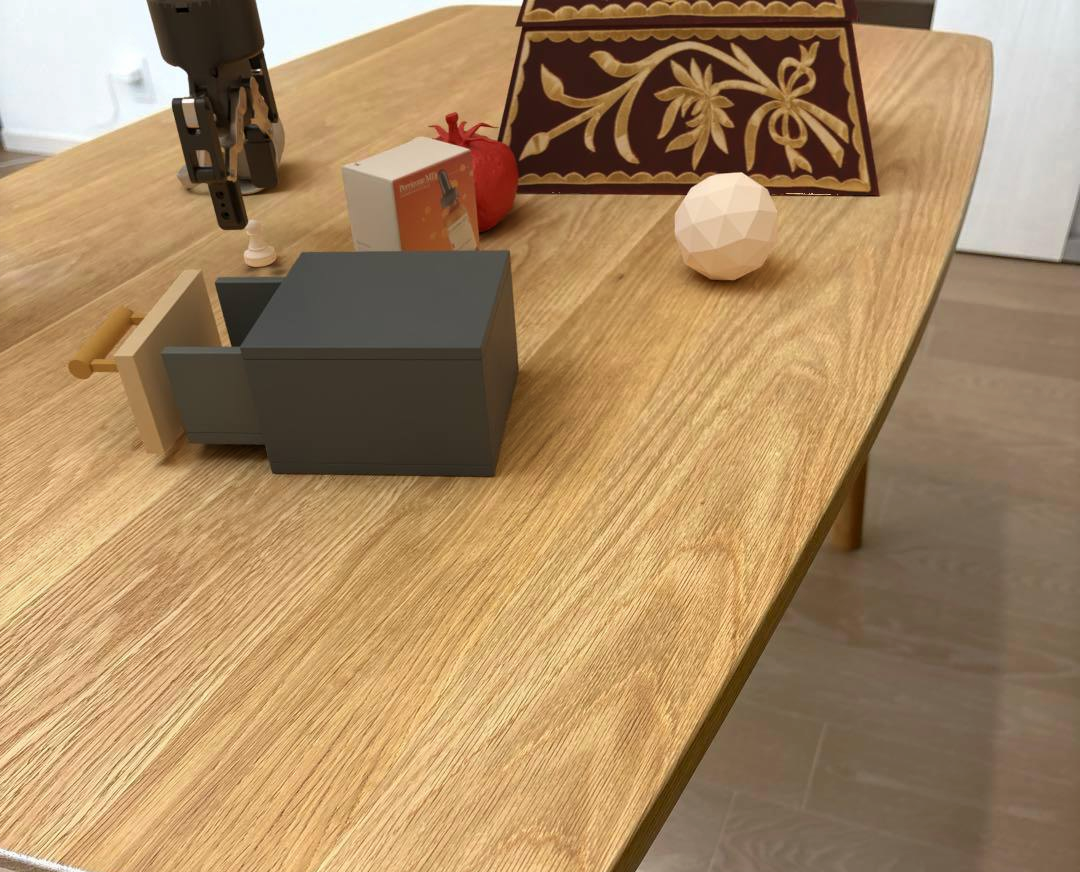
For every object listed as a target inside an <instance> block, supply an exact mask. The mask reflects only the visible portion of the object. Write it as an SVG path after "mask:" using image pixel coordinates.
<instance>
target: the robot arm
mask: <svg viewBox="0 0 1080 872" xmlns="http://www.w3.org/2000/svg"><path fill="white" fill-rule="evenodd" d="M145 1H146V5H147V8H148V11H149V15H150V19H151V22H152V26H153V29H154V30H153V31H154V34H155V37H156V41H157V45H158V48H159V52H160V55H161V56H160V57H161V58H162V60H163V61H164V62H165V63H166V64H168V65H169V66H172V67H174V68H175V67H177V68H180V69H181V70H183V71H184V72H185V73H186V76H187V83H188V84H187V85H188V93H189V94H188V96H183V97H173V98H172V99H171V111H172V114H173V119H174V122H175V126H176V130H177V135H178V138H179V141H180V146H181V151H182V155H183V158H184V162H185V164H186V167H187V171H188V175H189V179H190V181H191V183H192V184H199V185H201V184H206V185H207V187H208V191H209V194H210V198H211V203H212V206H213V210H214V214H215V218H216V221H217V225H218V227H219V228H220V229H221V230H223V231H242V230H244V229H245V227H246V226H247V224H248V221H249V218H248V214H247V210H246V205H245V201H244V196H243V195H242V193H241V188H240V184H239V180H238V179H237V154H238V153H239V152H240V151H241V150H242V149H243V146H244V150H245V154H246V158H247V162H248V167H249V171H250V175H251V179H252V183H253V185H254V186H255V187H257V188H264V189H274V188H276V187H277V186H278V185H279V184H280V182H281V176H280V172H279V169H278V167H277V163H276V158H275V154H274V149H273V145H272V140H270V139H272V138H273V136H274V129H273V126H272V123H278V118H280V115H279V112H278V107H277V103H276V99H275V94H274V91H273V87H272V83H271V78H270V74H269V70H268V69H269V68H268V65H267V60H266V57H265V52H264V47H265V43H266V42H265V37H264V32H263V28H262V23H261V19H260V13H259V8H258V4H257V0H145ZM246 139H248V141H245V142H244V143H243V140H246ZM198 150H199V162H198V158H197V154H196V151H198ZM222 152H224V159H223V155H222ZM200 183H201V184H200Z"/></svg>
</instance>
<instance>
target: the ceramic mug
mask: <svg viewBox="0 0 1080 872" xmlns="http://www.w3.org/2000/svg"><path fill="white" fill-rule="evenodd" d="M272 126H273V129H274V136H273V138H272V139H270V140H272V145H273V149H274V154H275V158H276V163H277V167H278V170H279V168H280V167H281V166H280V165H281V161H282V157H283V154H284V150H285V145H286V134H285V133H286V132H285V129H284V126H283V122H282V119H281V118H280V117H279V118H278V123H272ZM245 141H248V139H246V140H243V143H244V142H245ZM196 154H197V158H198V162H199V150H198V151H196ZM222 155H223V159H224V152H222ZM176 178H177V179H178V180H179V182H180V183H181V185H182V186H183V187H184V188H185V189H192V188H196V187H198V186H199V185H201V184H202V183H200V184H192V183H191V181H190V179H189V175H188V171H187V167H186V163H185V164H184V165H182V167H181V168H180V169H179V170H178V171H177V172H176ZM237 179H238V180H239V184H240V188H241V193H242V196H243V195H252V194H255V193H256V194H257V193H258V192H261V191H262V190H264V189H265V188H257V187H255V186H254V185H253V183H252V179H251V175H250V171H249V167H248V162H247V158H246V154H245V150H244V146H243V149H242V150H241V151H240V152H239V153H238V154H237Z"/></svg>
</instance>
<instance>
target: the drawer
mask: <svg viewBox="0 0 1080 872" xmlns="http://www.w3.org/2000/svg"><path fill="white" fill-rule="evenodd" d="M285 277H286V276H219V277H217V278H216V280H215V281H214V286H215V290H216V294H217V298H218V301H219V305H220V309H221V312H222V313H221V314H222V317H223V321H224V325H225V328H226V331H227V335H228V339H229V343H230V344H229V345H230V346H223V344H222V341H221V337H220V333H219V329H218V325H217V322H216V319H215V314H214V310H213V306H212V304H211V303H212V302H211V299H210V296H209V293H208V289H207V285H206V281H205V277H204V273H203V270H202V269H184V270H183V271H182V272H181V273H180V274H179V276H178V277H177V278H176V279H175V281H174V282H172V284H171V285H170V286H169V288H167V290H166V291H165V293H163V295H162V296H161V297H160V298H159V300H158V301H157V302H156V303H155V304H154V306H153V307H152V308H151V309H150V311H149V312H147V313H145V312H144V313H141V312H140V313H138V312H137V313H135V312H134V311H133V310H132V309H131V308H130V307H127V306H124V305H123V306H122V305H121V306H118V307H116V308H115V309H114V311H113V312H112V313H111V314H110V315H109V316H108V317H107V318H106V320H105V321H103V323H102V324H101V325H100V326H99V328H98V329H97V330H96V331H95V332H94V333H93V334H92V336H91V337H90V338H89V339H88V340H87V341H86V343H84V345H83V346H82V347H81V348H80V349H79V350H78V351H77V352H76V354H75V355H73V357H72V358H71V359H70V360H69V361H68V363H67V369H68V371H69V373H70V374H71V376H73V377H75V378H76V379H79V380H88V379H90V377H91V376H92V375H93V373H118V374H119V377H120V380H121V383H122V386H123V389H124V391H125V394H126V397H127V400H128V403H129V406H130V408H131V409H130V410H131V412H132V415H133V417H134V421H135V424H136V426H137V429H138V432H139V435H140V438H141V440H142V444H143V447H144V450H145V452H146V454H147V455H166V453H167V452H168V450H169V449H170V447H171V445H173V443H174V441H175V440H176V438H177V437H178V435H179V434H180V432H181V431H182V429H184V432H185V436H186V439H187V443H188V444H189V445H191V444H192V445H194V444H195V445H199V444H200V445H203V444H204V445H264V446H265V444H264V440H263V436H262V432H261V428H260V425H259V421H258V417H257V413H256V409H255V405H254V401H253V397H252V394H251V390H250V386H249V382H248V378H247V374H246V370H245V367H244V363H243V358H242V354H241V350H240V346H241V344H242V343H243V341H244V340H245V338H246V337H247V335H248V334H249V332H250V331H251V329H252V328H253V326H254V324H255V323H256V321H257V320H258V318H259V317H260V315H261V314H262V312H263V311H264V309H265V308H266V306H267V305H268V303H269V301H270V300H271V298H272V297H273V295H274V294H275V292H276V291H277V289H278V288H279V286H280V285H281V283H282V281H283V280H284V278H285ZM133 326H136V327H135V329H134V330H133V331H132V332H131V333H130V335H129V336H128V337H127V338H126V339H125V341H124V342H123V343H122V344H121V346H120V347H119V348H118V349H117V350H116V352H115V353H114V354H113V356H112V357H113V358H107V357H108V356H109V355H110V353H111V352H112V351H113V349H114V348H116V346H117V345H118V344H119V342H120V341H121V340H122V339H123V337H124V336H125V335H126V334H127V333H128V332H129V330H131V328H132V327H133Z"/></svg>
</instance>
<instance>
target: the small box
mask: <svg viewBox="0 0 1080 872" xmlns="http://www.w3.org/2000/svg"><path fill="white" fill-rule="evenodd" d="M431 138H432V137H427V136H423V135H419V136H417V137H415V138H413V139H412V140H410V141H408V142H405V143H402V144H400V145H397V146H394V147H392V148H389V149H387V150H384V151H382V152H379V153H376V154H373V155H371V156H368V157H366V158H362V159H360V160H357V161H355V162H350V163H349V162H348V163H347V164H343V165H341V168H340V169H341V175H342V181H343V186H344V193H345V198H346V199H345V200H346V206H347V211H348V217H349V224H350V230H351V236H352V240H353V247H354V252H361V251H471V250H481V246H480V245H481V244H480V234H479V233H480V232H478V221H477V209H476V198H475V187H474V176H473V164H472V153H471V150H470V149H467V148H464V147H460V146H457V145H453V144H449V143H446V142H442V141H438V140H435V139H431Z"/></svg>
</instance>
